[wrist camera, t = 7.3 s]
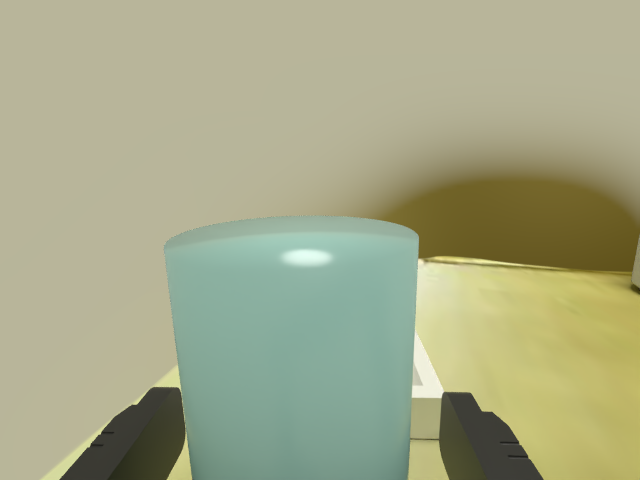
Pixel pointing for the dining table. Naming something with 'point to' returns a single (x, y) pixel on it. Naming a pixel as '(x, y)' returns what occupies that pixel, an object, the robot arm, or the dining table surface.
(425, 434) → the tray
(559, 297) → the dining table surface
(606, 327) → the dining table surface
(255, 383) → the pale green cylinder
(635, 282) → the can
